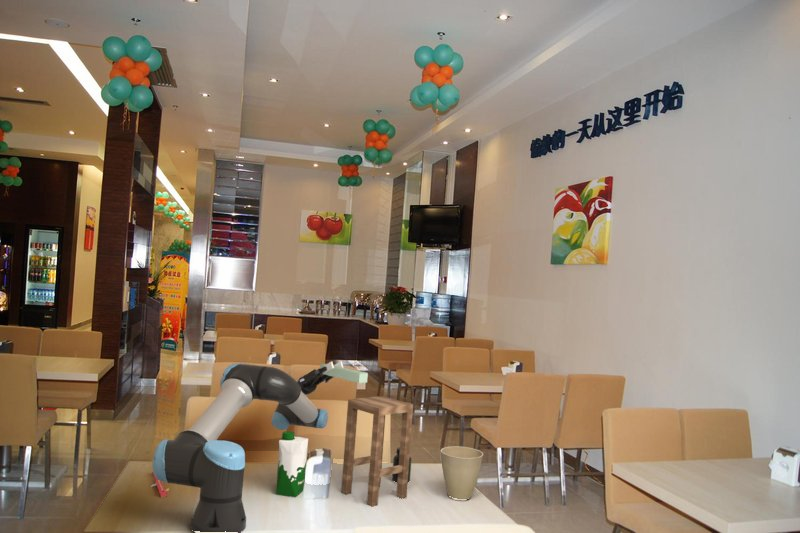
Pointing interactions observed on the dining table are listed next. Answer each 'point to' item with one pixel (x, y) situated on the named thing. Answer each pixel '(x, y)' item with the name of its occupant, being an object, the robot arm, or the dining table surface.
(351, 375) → the green block
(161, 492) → the red long bar
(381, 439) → the walnut stool
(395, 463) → the supplement bottle
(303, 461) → the milk carton
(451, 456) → the plant pot
